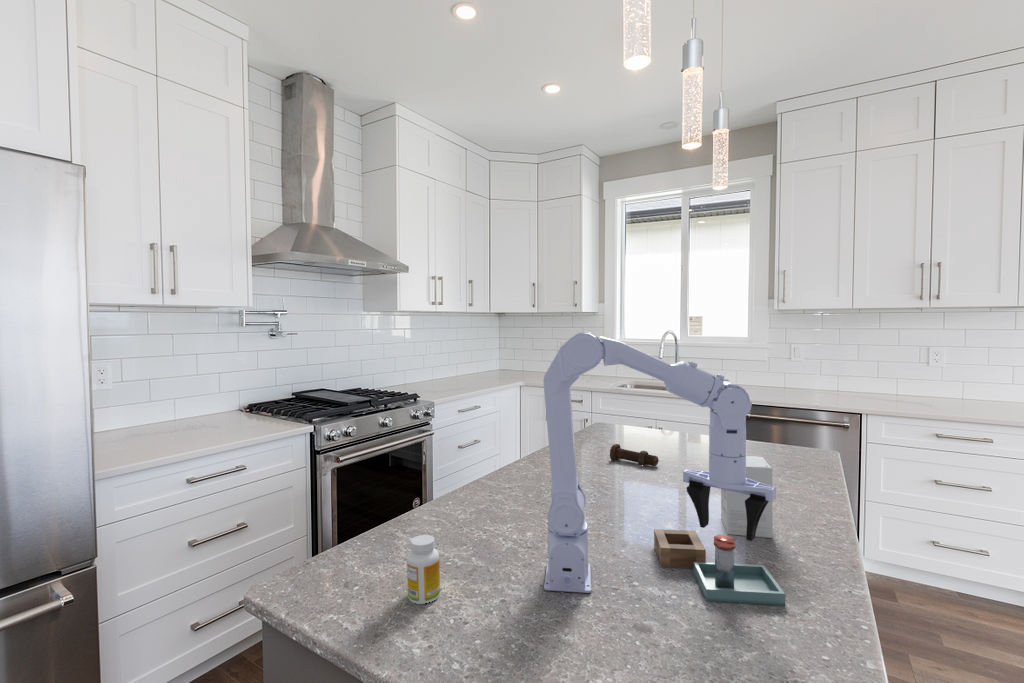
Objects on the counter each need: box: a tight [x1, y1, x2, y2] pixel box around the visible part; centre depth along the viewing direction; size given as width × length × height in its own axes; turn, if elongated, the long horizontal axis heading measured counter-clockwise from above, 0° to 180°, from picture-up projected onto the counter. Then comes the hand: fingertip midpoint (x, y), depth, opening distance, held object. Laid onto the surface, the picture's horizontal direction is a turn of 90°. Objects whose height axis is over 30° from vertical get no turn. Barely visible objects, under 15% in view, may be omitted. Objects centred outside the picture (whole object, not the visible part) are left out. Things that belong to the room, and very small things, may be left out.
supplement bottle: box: [406, 534, 441, 605], centre depth 81 cm, size 5×5×10 cm
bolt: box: [609, 443, 660, 467], centre depth 154 cm, size 6×5×15 cm
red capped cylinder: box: [713, 534, 737, 589], centre depth 82 cm, size 3×3×8 cm
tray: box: [692, 561, 786, 607], centre depth 82 cm, size 9×12×2 cm
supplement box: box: [720, 455, 774, 539], centre depth 105 cm, size 9×9×15 cm
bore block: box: [653, 528, 707, 569], centre depth 93 cm, size 8×8×4 cm
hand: (726, 532), depth 82 cm, fingers open, 7 cm apart
